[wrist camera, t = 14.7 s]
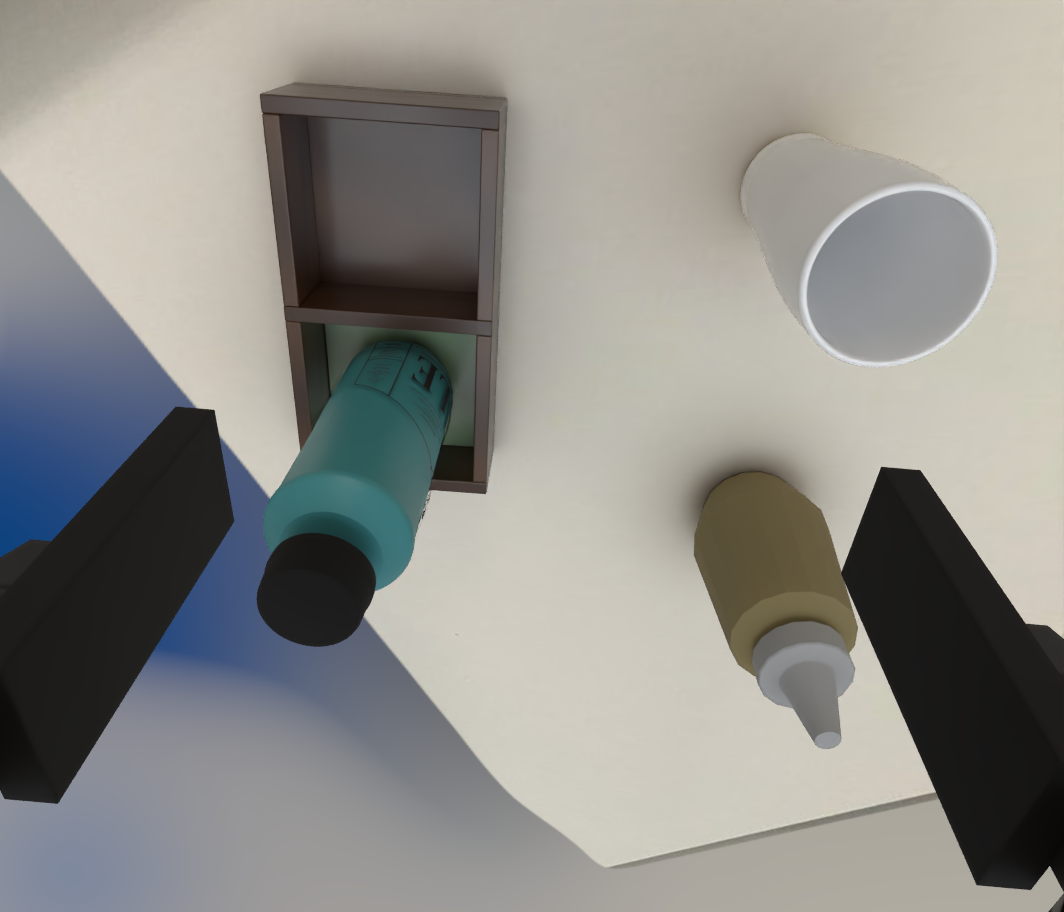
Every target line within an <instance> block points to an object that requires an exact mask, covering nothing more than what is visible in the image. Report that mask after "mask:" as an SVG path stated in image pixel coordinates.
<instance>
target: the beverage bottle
mask: <svg viewBox="0 0 1064 912" xmlns="http://www.w3.org/2000/svg"><path fill="white" fill-rule="evenodd" d="M345 366H346V365H345ZM342 371H343V370H342ZM342 371H341V374H342ZM447 373H448V372H447V370H446V369H445V367H444V366H443V365H442V363H441V362H440V361H439V359H437V358H436V357H435V356H434V355H433V354H432V353H431V352H430V351H428V350H427V349H425V348H423V347H421V346H419V345H417V344H414V343H411V342H407V341H401V340H386V341H379V342H377V343H375V344H373V345H371V346H368V347H367V348H365V349H363V350H362V351H361V352H359V353H358V354H357V355H356V356H355V357H354V358H353V360H352V361H351V362H350V364H349V365H348V367H347V369H346V371H345V372H344V374H343V376H342V378H341V377H338V379H339V378H341V380H340V381H339V380H338V379H337V383H338V385H337V383H335V384H336V385H337V387H336V388H335V389H334V390H333V391H334V392H333V391H332V392H331V391H330V393H333V394H332V395H331V397H330V395H329V397H330V399H329V401H328V400H327V398H326V400H327V401H328V403H327V401H326V403H327V404H326V406H325V408H324V407H323V406H324V405H323V406H322V407H323V408H324V410H323V408H322V410H323V411H322V413H321V415H320V414H319V413H318V414H319V415H320V417H319V415H318V414H317V415H318V416H317V417H319V419H318V421H317V423H315V424H316V425H315V427H314V429H313V431H312V432H311V434H310V433H309V434H310V436H309V437H308V439H307V441H306V443H305V444H304V446H303V448H302V449H301V451H300V453H299V455H298V456H297V458H296V460H295V461H294V463H293V465H292V467H291V468H290V470H289V472H288V473H287V475H286V477H285V479H284V480H283V482H282V484H281V485H280V487H279V488H278V489H277V490H276V491H275V493H274V494H273V496H272V497H271V499H270V500H269V502H268V505H267V506H266V509H265V512H264V518H263V532H264V538H265V541H266V544H267V547H268V549H269V551H270V553H271V556H270V558H269V560H268V562H267V564H266V568H265V573H264V575H263V578H262V580H261V583H260V585H259V588H258V592H257V606H258V610H259V612H260V615H261V616H262V618H263V620H264V621H265V622H266V624H267V625H268V626H269V627H270V628H271V629H272V630H273V631H275V632H276V633H277V634H278V635H280V636H282V637H283V638H285V639H287V640H290V641H292V642H295V643H298V644H302V645H306V646H315V647H316V646H318V647H321V646H329V645H333V644H336V643H339V642H341V641H343V640H345V639H347V638H348V637H349V636H350V635H352V634H353V632H354V631H355V630H356V629H357V628H358V626H359V625H360V622H361V620H362V618H363V616H364V613H365V611H366V610H367V608H368V607H369V605H370V603H371V601H372V598H373V595H374V592H375V591H377V590H379V589H381V588H384V587H385V586H387V585H389V584H390V583H392V582H393V581H394V580H396V579H397V578H398V577H399V576H400V575H401V574H402V572H403V571H404V570H405V568H406V567H407V566H408V563H409V561H410V559H411V556H412V553H413V550H414V542H415V536H416V532H417V531H418V530H417V528H418V524H419V522H420V519H421V515H422V519H423V516H424V514H422V512H423V513H425V511H423V508H424V507H426V506H425V505H426V504H425V502H426V499H427V494H428V492H429V491H430V490H431V489H432V488H431V489H430V490H429V487H430V483H431V481H432V480H431V479H432V476H433V474H434V471H435V470H434V469H436V468H435V467H436V466H437V465H436V461H437V457H438V454H439V450H441V452H442V448H441V447H442V444H443V441H444V439H445V436H446V434H447V431H448V428H449V426H448V425H450V423H449V421H451V419H450V416H451V411H452V405H453V396H454V395H453V389H452V384H453V383H452V384H451V381H452V380H451V381H450V378H449V376H450V375H449V376H448V374H449V373H448V374H447ZM341 374H340V375H341ZM333 387H335V386H333ZM453 387H454V386H453ZM331 390H332V389H331ZM454 392H455V391H454ZM330 393H329V394H330ZM324 403H325V402H324ZM454 405H455V404H454ZM320 410H321V409H320ZM448 417H449V419H448ZM314 420H315V419H314ZM447 421H448V425H447ZM315 422H316V421H315ZM312 425H313V424H312ZM446 425H447V429H446V433H445V436H443V435H444V432H445V428H446ZM310 431H311V430H310ZM443 437H444V438H443ZM442 439H443V441H442ZM445 440H446V439H445ZM435 465H436V466H435ZM434 480H435V477H434ZM428 490H429V491H428ZM430 493H431V492H430ZM428 496H430V494H429V495H428ZM429 499H430V498H428V500H427V501H429ZM427 503H428V502H427ZM425 510H426V508H425ZM426 511H427V510H426ZM419 527H420V526H419ZM418 529H419V528H418Z"/></svg>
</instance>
